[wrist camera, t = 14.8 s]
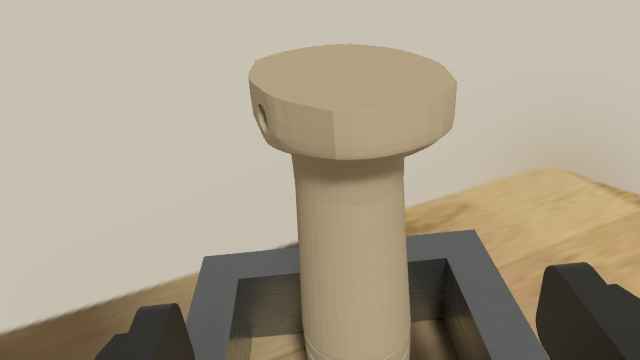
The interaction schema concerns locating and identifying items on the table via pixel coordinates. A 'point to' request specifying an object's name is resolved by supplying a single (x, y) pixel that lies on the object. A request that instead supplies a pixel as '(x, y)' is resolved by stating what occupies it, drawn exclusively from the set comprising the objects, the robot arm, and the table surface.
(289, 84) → the handle
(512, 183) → the table surface
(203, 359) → the housing
